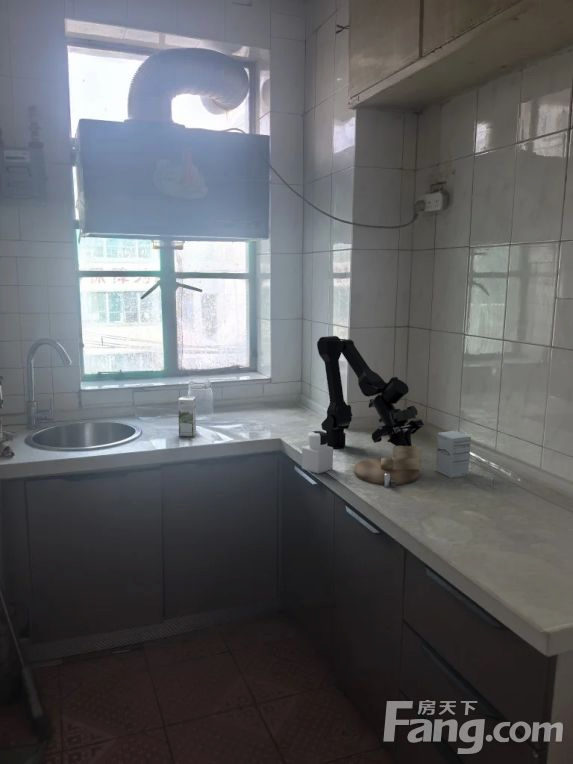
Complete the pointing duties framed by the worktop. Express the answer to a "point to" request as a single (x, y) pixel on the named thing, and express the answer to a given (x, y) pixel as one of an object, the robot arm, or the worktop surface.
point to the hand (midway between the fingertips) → (411, 453)
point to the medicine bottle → (317, 453)
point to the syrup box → (187, 416)
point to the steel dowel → (387, 480)
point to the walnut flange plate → (379, 475)
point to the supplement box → (453, 453)
